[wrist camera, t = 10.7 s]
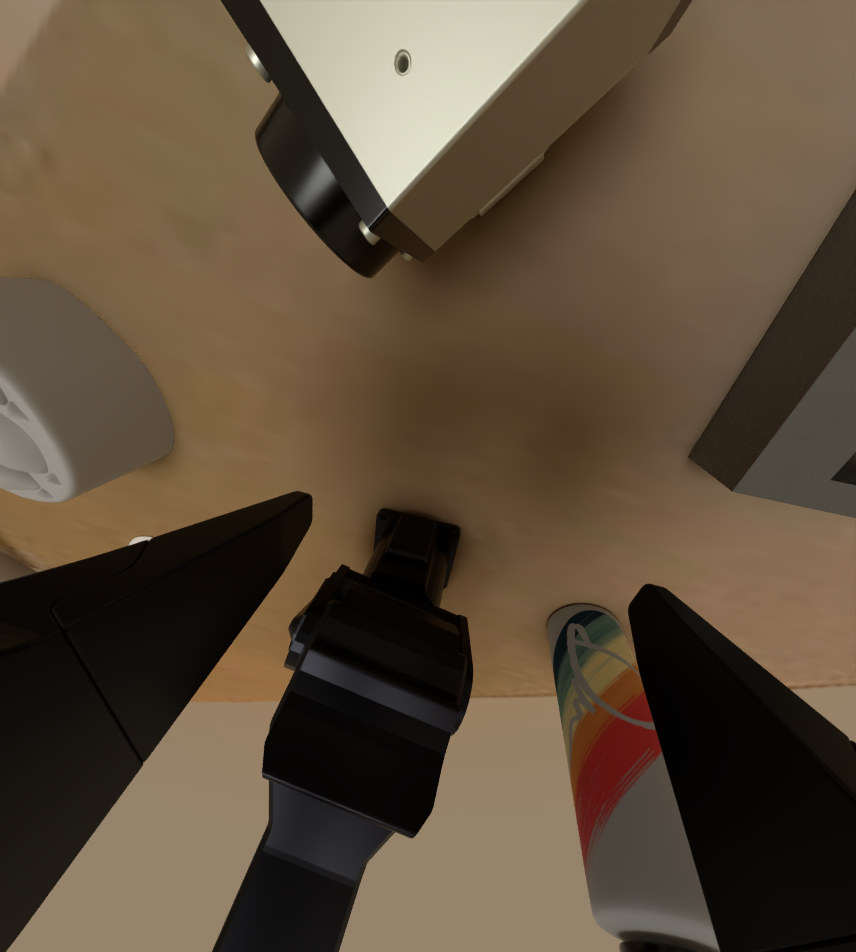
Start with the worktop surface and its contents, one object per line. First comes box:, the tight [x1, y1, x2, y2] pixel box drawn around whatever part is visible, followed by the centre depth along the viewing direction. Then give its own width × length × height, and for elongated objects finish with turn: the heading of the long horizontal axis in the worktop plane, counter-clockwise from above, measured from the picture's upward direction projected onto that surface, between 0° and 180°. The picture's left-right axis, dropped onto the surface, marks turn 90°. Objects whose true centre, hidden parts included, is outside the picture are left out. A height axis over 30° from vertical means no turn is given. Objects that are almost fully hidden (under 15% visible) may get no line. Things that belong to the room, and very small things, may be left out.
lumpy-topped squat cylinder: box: [0, 277, 174, 502], centre depth 21 cm, size 10×13×9 cm
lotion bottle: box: [547, 604, 720, 952], centre depth 18 cm, size 6×6×20 cm
